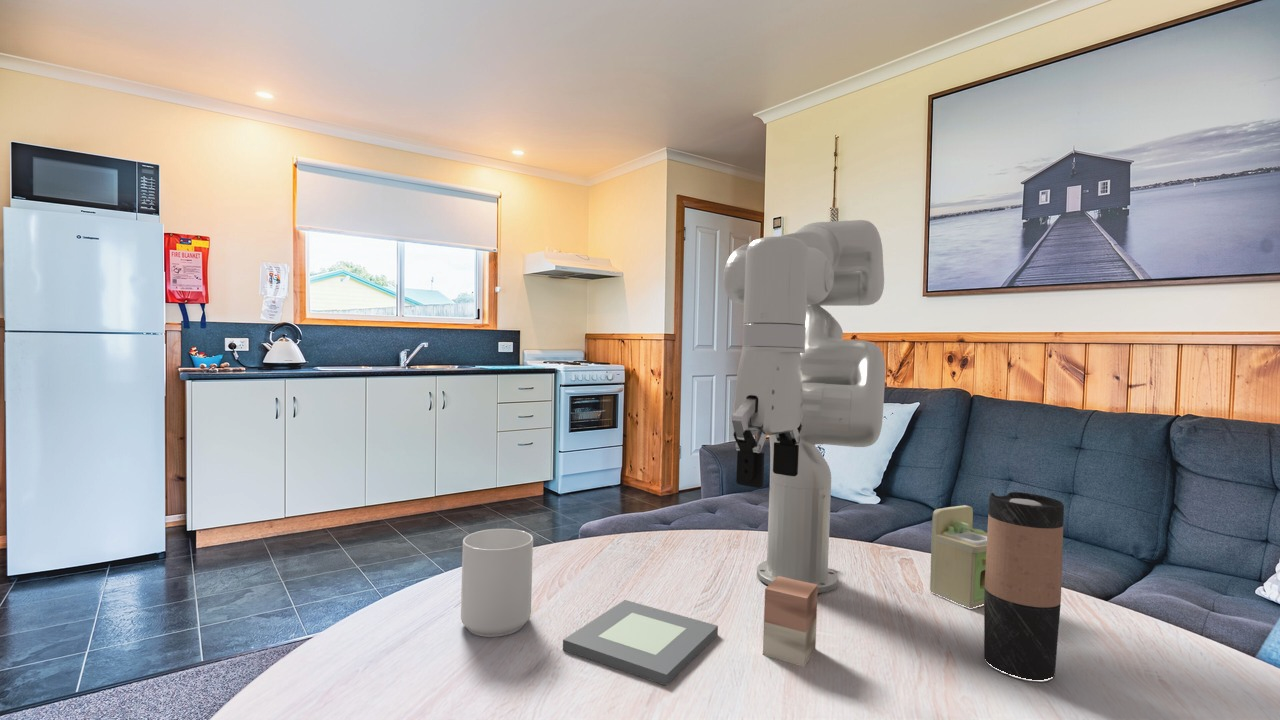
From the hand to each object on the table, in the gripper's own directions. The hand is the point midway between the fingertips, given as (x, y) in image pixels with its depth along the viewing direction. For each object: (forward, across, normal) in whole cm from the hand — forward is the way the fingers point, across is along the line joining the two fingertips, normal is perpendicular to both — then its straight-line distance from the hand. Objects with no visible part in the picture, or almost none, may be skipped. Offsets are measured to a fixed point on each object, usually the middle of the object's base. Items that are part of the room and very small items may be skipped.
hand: (768, 479), depth 74 cm
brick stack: (+21, -2, +3) cm, 21 cm away
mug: (+21, +16, -30) cm, 40 cm away
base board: (+21, +8, -12) cm, 25 cm away
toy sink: (+20, -36, +17) cm, 44 cm away
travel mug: (+21, -16, +25) cm, 37 cm away
